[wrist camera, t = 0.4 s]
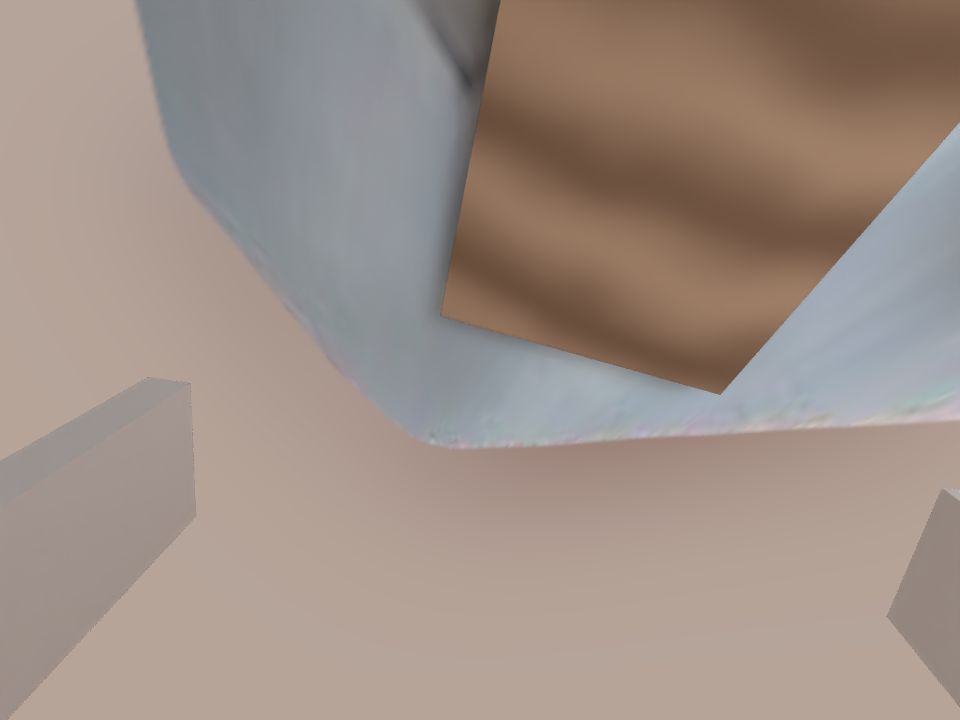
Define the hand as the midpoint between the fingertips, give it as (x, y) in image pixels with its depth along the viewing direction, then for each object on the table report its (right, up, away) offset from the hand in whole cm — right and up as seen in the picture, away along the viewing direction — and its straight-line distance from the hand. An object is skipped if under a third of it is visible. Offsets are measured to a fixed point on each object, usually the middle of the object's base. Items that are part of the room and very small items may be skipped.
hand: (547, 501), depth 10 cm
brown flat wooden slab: (+6, +10, +11) cm, 16 cm away
